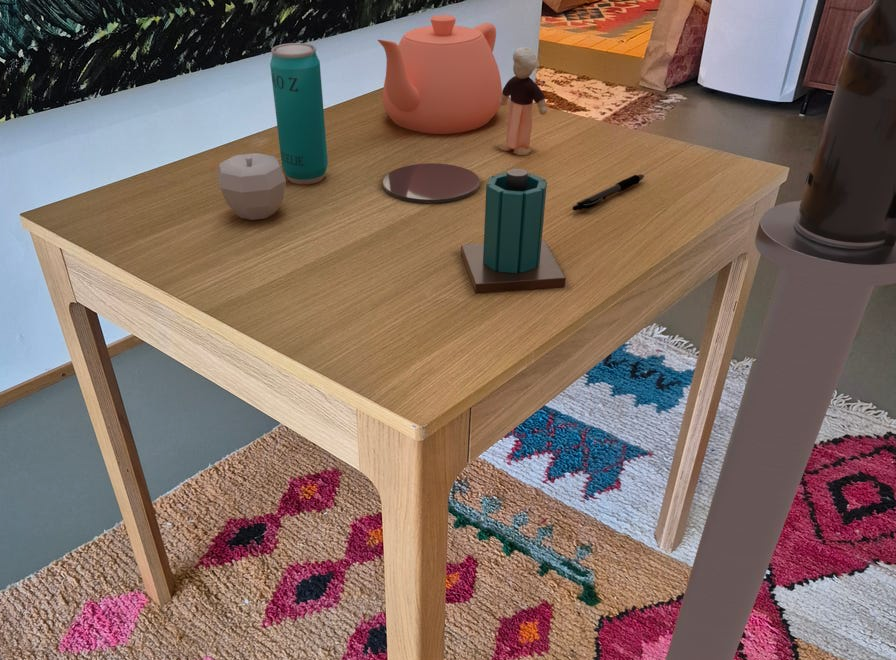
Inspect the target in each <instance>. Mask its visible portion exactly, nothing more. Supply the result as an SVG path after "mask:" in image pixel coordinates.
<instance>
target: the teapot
mask: <svg viewBox="0 0 896 660" xmlns="http://www.w3.org/2000/svg"><path fill="white" fill-rule="evenodd" d="M456 20H457V17H456V16H454V15H451V14H436V15H433V16H431V17H430V23H431V25H426V26H422V27H417V28H414V29H411V30H409V31H407V32H405V34H403V35H402V37H401V38H400V40H399V42H398V43H397V42H396V41H393V40H392V41H390V40H385V39H377V42H378V43H379V44H380V45H381V46H382V48H383V50H384V52H385V58H386V68H385V77H384V83H383V88H382V89H383V90H382V105H383V108H384V111H385V112H386V113H387V115H388V117H389V118H390V119H391V120H392V121H393V122H394V123H395V124H396V125H397V126H399V127H401V128H404V129H407V130H409V131H414V132H418V133H422V134H432V135H450V134H459V133H464V132H469V131H472V130H476V129H478V128H482V127H483V126H485V125H486V124H488V123H489V122H490V121H491V120H492V118H493V117H494V116H495V115H496V114H497V112H498V111H499V109H500V107H501V106H502V105H501V104H500V102H499V101H500V99H501V95H502V91H503V86H502V85H503V84H502V79H501V78H502V77H501V75H500V70H499V66H498V63H497V61H496V58H495V56H494V53H493V52H494V49H495V44H496V38H497V29H496V27H495V24H493V23H490V22H484V23H480V24H479V25H476V26H475V27H467V26H463V25H462V26H461V25H455V24H456Z"/></svg>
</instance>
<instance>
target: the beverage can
mask: <svg viewBox="0 0 896 660" xmlns="http://www.w3.org/2000/svg"><path fill="white" fill-rule="evenodd" d="M270 52H271V54H272V56H271V59H270V63H269V67H270V74H271V75H270V76H271V83H272V91H273V100H274V101H273V102H274V109H275V116H276V117H275V118H276V126H277V135H278V143H279V144H278V145H279V152H280V161H281V168H282V171H283V173H284V175H285V176H286V178H287V179H288V181H289V182H291V183H293V184H295V185H314V184H316V183H320V182H321V181H322V180H324V178H325V176H326V174H327V173H326V172H327V169H328V165H329V161H328V159H329V158H328V147H327V135H326V124H325V123H326V122H325V111H324V99H323V85H322V72H321V62H320V59H319V57H318V54H317V53H316V52H317V47H316V46H315V45H314V44H310V43H304V42H289V43H282V44H278V45H275V46H273V47H272V48H271V50H270Z"/></svg>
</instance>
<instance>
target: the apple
mask: <svg viewBox="0 0 896 660" xmlns="http://www.w3.org/2000/svg"><path fill="white" fill-rule="evenodd" d="M217 182H218V185H219V188H220V191H221V193H222V195H223V197H224V200H225V202H226V205H228V207H229V209H231V210H232V212H233V213H234V214H235V215H236V216H238V217H239V218H241V219H244V220H245V219H246V220H249V221H255V220H264V219H267V218H269V217H271V216H272V215H274V214H275V213H276V212H278V210H279V209H280V207H281V205H282V202H283V201H284V198H285V194H286V193H285V192H286V185H287V184H286V183H287V180H286V177H285V173H284V171H283V168H282V166H281V165H280V162H279V160H278V158H277V157H275V156H274V155H269V154H264V153H258V152H253V153H252V152H251V153H244V154H236V155H233V156H231V157H229V158H227V159H225V160H223V161H221V162H220V163H219V164H218V171H217Z"/></svg>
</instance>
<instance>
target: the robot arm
mask: <svg viewBox="0 0 896 660" xmlns="http://www.w3.org/2000/svg"><path fill="white" fill-rule="evenodd" d="M830 101H831V102H830V105H829V108H828V112H827V114H826V118H825V122H824V125H823V128H822V132H821V135H820V138H819V142H818V145H817V147H816V148H817V149H816V151H815V155H814V159H813V163H812V165H811V167H810V169H809V172H808V173H807V175H806V179H805V183H804V185H805V189H804V192H803V195H802V198H801V201H802V202H801V204H800V207H799V212H798V214H797V216H796V219H795V222H794V226H795V228H796V230H797V231H798V232H799V233H800V234H802V235H803V236H805V237H807V238H808V239H811V240H813V241H815V242H818V243H821V244H824V245H828V246H833V247H838V248H845V249H871V248H877V247H880V246H894V245H895V243H896V0H874V1H873V3H872V4H871V5H870V6H869V7H867V8H866V9H864V10H862V11H861V12H860V13H859V15H857V18H856V19H855V21H854V23H853V26H852V29H851V33H850V36H849V40H848V43H847V47H846V50H845V54H844V57H843V61H842V64H841V68H840V70H839V74H838V77H837V80H836V85H835V87H834V92H833V95H832V98H831V100H830Z"/></svg>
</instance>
